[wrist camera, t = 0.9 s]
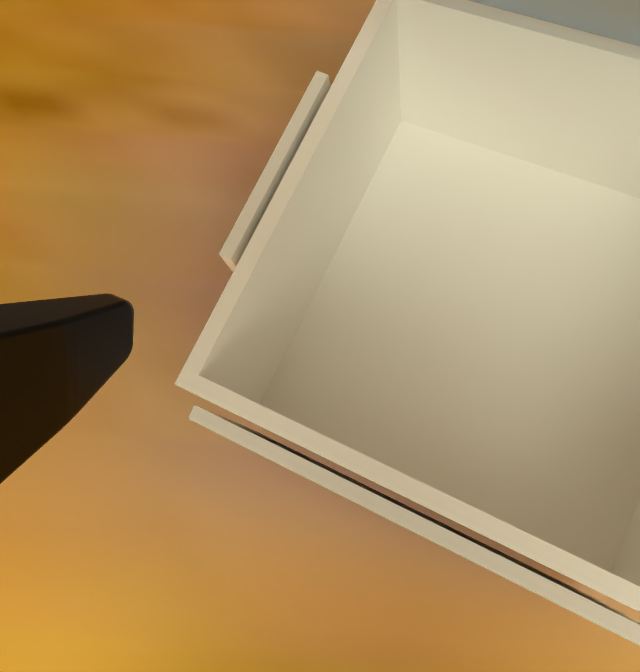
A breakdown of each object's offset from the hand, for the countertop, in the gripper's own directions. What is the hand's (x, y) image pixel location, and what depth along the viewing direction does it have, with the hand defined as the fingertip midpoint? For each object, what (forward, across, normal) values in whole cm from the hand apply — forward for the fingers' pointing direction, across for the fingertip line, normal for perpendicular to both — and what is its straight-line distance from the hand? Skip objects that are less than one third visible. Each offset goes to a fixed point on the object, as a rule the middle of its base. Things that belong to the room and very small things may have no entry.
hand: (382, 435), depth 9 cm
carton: (+14, -1, +5) cm, 15 cm away
